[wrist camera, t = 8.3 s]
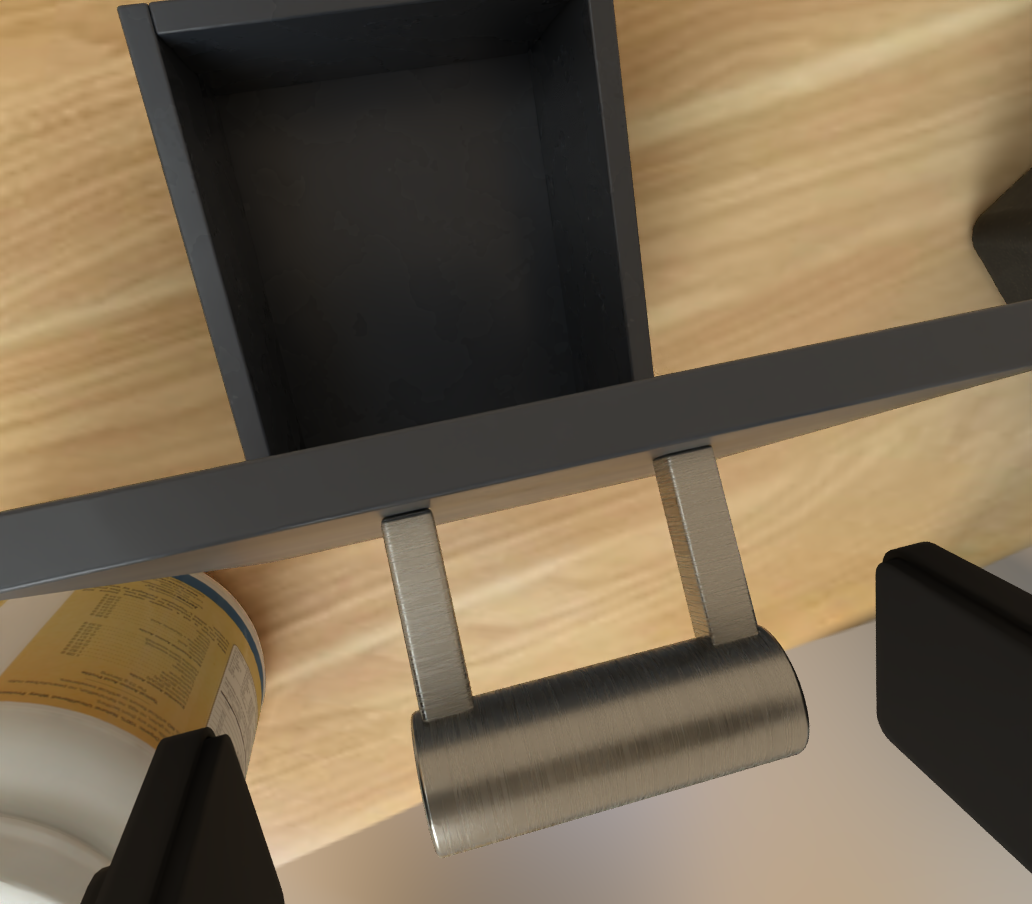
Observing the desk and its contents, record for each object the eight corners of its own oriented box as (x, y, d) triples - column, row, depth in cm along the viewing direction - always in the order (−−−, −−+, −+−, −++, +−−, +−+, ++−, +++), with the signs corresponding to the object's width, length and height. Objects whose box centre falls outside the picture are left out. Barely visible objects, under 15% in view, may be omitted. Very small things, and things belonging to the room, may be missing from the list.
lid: (-109, 532, 7) (-27, 1098, 7) (1093, 285, 9) (1224, 709, 8) (265, 538, 23) (296, 701, 23) (665, 449, 25) (702, 598, 25)
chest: (191, 80, 27) (115, 5, 19) (539, 34, 29) (608, -53, 21) (294, 468, 32) (269, 545, 24) (590, 406, 34) (663, 457, 26)
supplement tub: (46, 813, 34) (-243, 1318, 18) (-77, 584, 30) (-578, 959, 14) (305, 731, 35) (255, 1128, 19) (218, 503, 32) (66, 759, 16)
